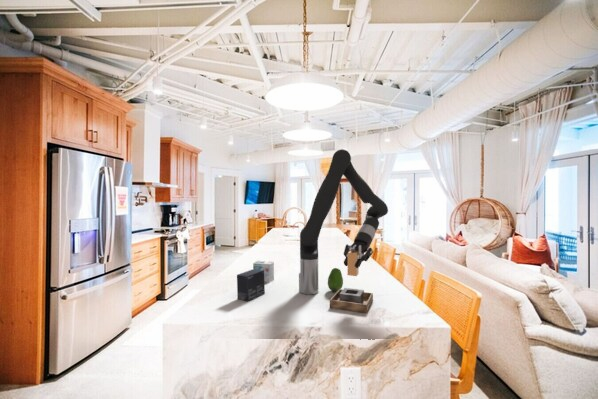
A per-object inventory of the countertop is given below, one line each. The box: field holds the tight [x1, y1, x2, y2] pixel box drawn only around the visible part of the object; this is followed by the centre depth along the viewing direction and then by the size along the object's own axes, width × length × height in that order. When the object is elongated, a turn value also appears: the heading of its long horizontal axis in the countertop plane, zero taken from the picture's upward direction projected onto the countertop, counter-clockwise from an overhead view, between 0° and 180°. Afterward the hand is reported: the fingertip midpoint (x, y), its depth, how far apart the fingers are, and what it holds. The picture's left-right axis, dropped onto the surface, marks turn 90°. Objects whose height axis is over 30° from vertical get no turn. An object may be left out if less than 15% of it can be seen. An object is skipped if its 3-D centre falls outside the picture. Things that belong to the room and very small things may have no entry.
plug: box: [347, 248, 360, 277], centre depth 131 cm, size 4×4×12 cm
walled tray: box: [329, 287, 374, 314], centre depth 132 cm, size 16×16×6 cm
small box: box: [236, 268, 266, 302], centre depth 143 cm, size 13×7×12 cm, turn 149°
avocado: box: [327, 267, 344, 293], centre depth 150 cm, size 8×8×12 cm
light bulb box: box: [252, 260, 275, 284], centre depth 170 cm, size 11×7×11 cm, turn 73°
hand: (350, 265), depth 129 cm, fingers closed on plug, 5 cm apart
